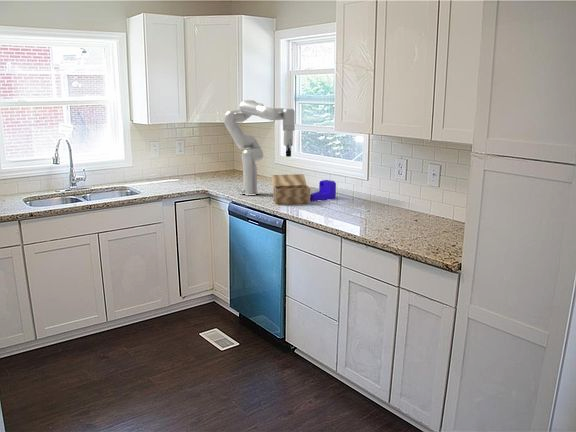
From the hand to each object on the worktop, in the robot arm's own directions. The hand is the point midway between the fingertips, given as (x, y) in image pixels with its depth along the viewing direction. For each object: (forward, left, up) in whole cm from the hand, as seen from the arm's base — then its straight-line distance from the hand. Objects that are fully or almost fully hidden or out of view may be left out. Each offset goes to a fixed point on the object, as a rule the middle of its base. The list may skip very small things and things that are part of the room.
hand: (288, 156), depth 345 cm
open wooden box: (0, -12, -28) cm, 31 cm away
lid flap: (0, -1, -15) cm, 15 cm away
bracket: (+21, -5, -29) cm, 36 cm away
